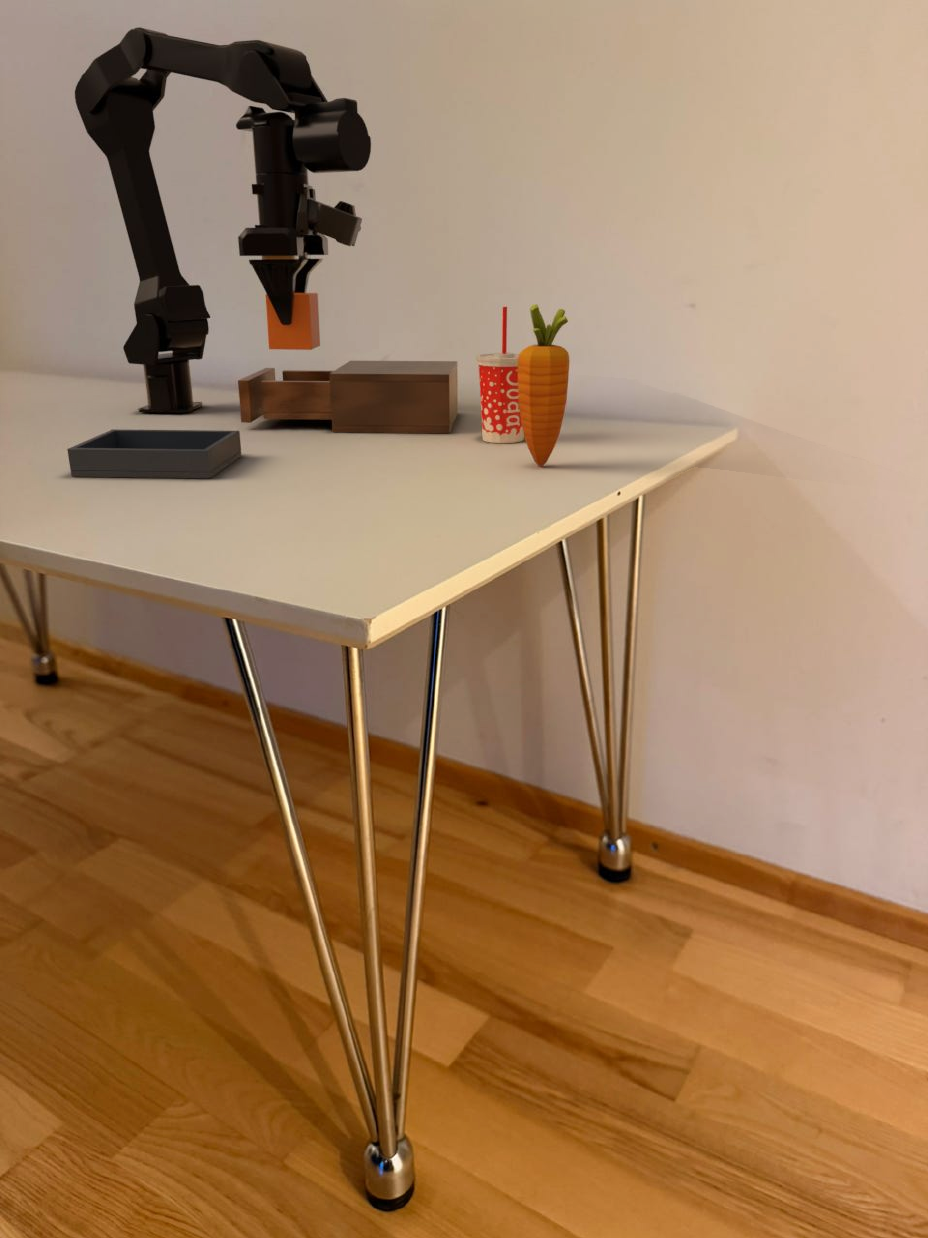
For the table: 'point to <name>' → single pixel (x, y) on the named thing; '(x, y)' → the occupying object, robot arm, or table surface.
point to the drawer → (285, 395)
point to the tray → (155, 454)
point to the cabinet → (394, 396)
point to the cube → (295, 324)
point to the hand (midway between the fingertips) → (291, 322)
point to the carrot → (543, 387)
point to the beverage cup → (500, 394)
